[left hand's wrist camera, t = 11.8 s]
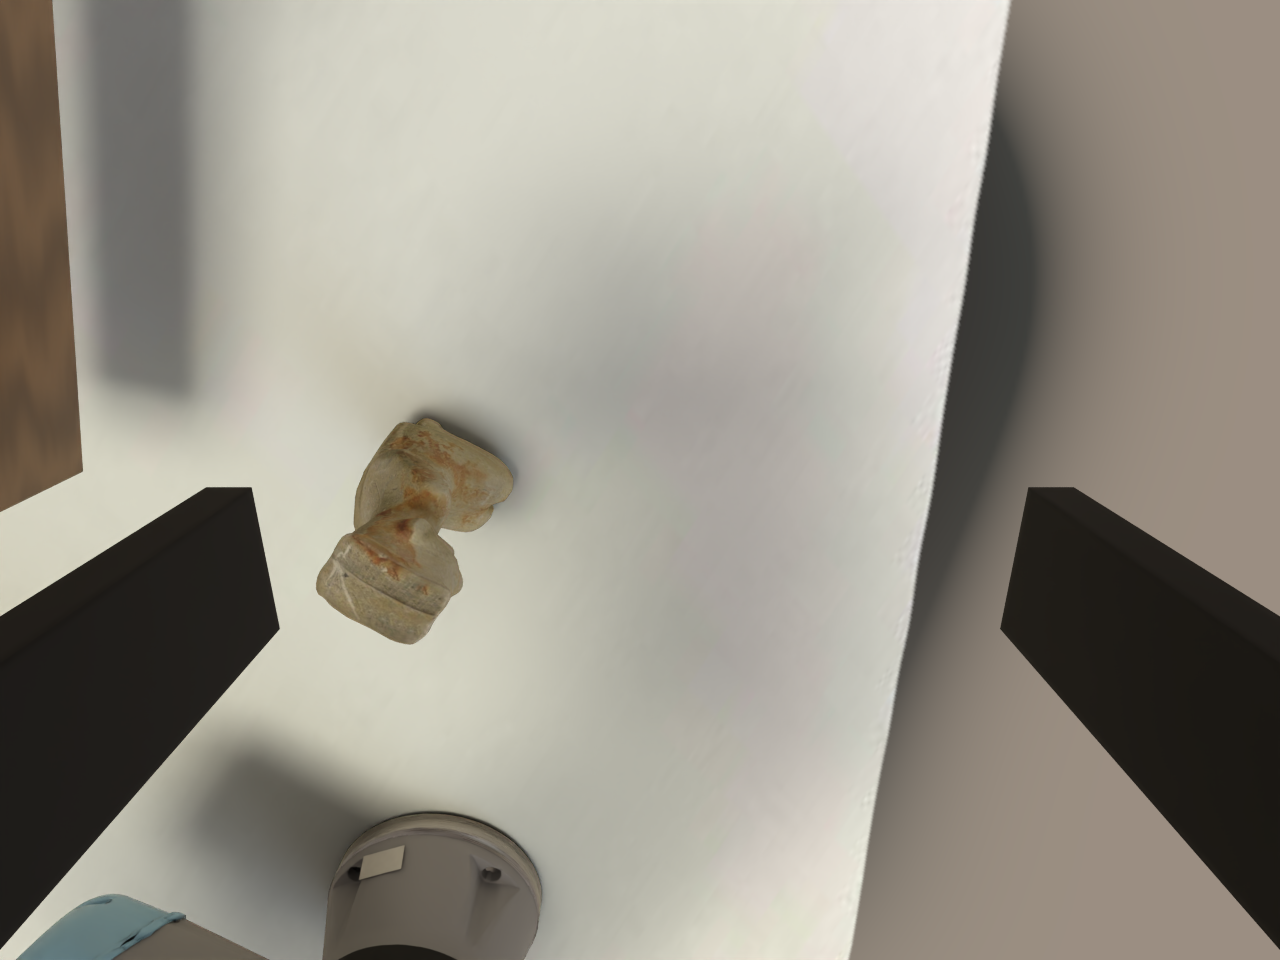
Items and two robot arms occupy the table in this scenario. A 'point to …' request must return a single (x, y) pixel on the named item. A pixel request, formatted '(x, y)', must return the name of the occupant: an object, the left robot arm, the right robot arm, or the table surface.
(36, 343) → the box
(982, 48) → the table surface
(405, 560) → the sculpture
